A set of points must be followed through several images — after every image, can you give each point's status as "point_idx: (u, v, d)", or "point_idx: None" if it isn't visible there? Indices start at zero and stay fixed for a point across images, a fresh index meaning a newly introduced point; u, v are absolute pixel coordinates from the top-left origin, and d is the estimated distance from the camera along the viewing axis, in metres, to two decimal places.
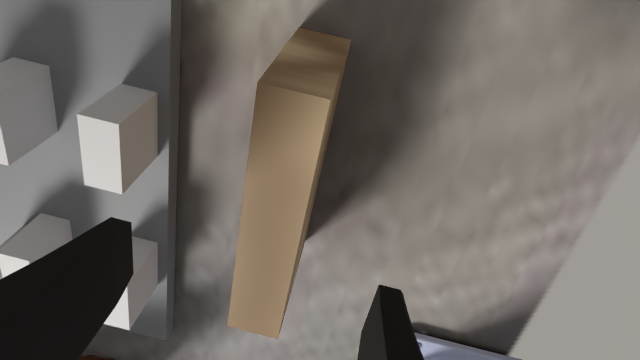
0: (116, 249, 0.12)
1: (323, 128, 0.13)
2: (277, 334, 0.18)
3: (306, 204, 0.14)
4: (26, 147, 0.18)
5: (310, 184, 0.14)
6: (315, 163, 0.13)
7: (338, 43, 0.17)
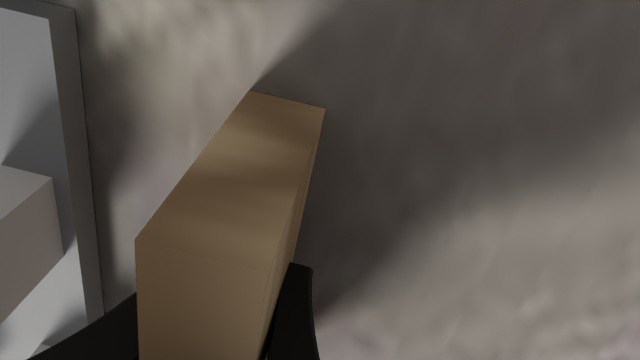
0: None
1: (259, 311, 0.07)
2: None
3: None
4: None
5: None
6: (250, 357, 0.08)
7: (303, 120, 0.11)
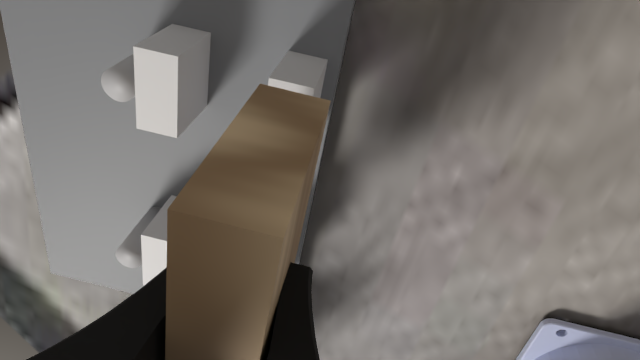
0: None
1: (275, 274, 0.08)
2: None
3: None
4: (188, 119, 0.17)
5: (260, 342, 0.09)
6: (266, 317, 0.09)
7: (310, 111, 0.12)
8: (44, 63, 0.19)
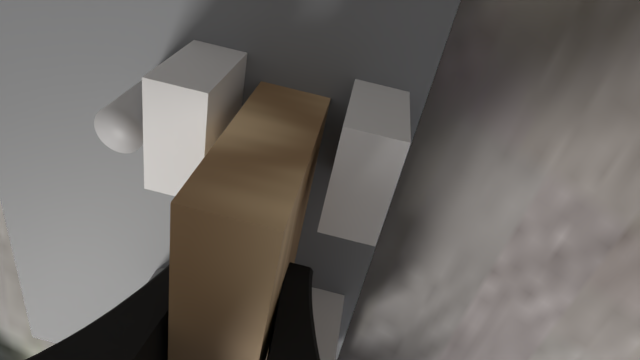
0: None
1: (275, 266, 0.08)
2: None
3: (258, 357, 0.10)
4: None
5: (261, 334, 0.09)
6: (267, 309, 0.09)
7: (310, 108, 0.12)
8: (19, 89, 0.14)
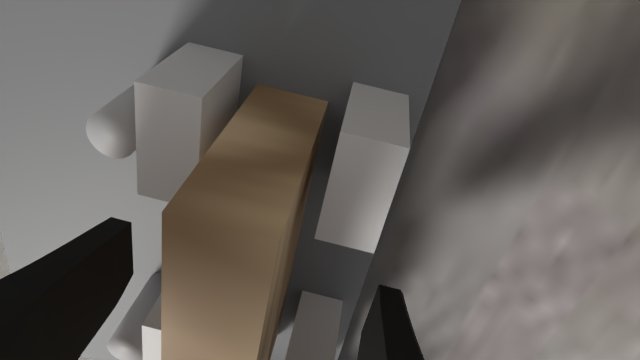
0: (116, 249, 0.12)
1: (271, 277, 0.08)
2: None
3: None
4: None
5: (257, 346, 0.09)
6: (262, 321, 0.09)
7: (307, 112, 0.12)
8: (11, 91, 0.14)
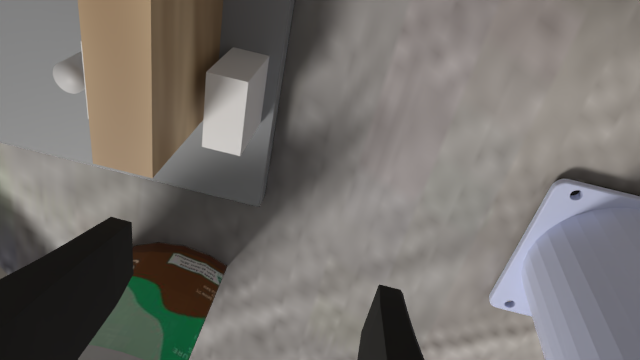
0: (116, 249, 0.12)
1: None
2: (151, 171, 0.15)
3: None
4: None
5: None
6: None
7: None
8: None
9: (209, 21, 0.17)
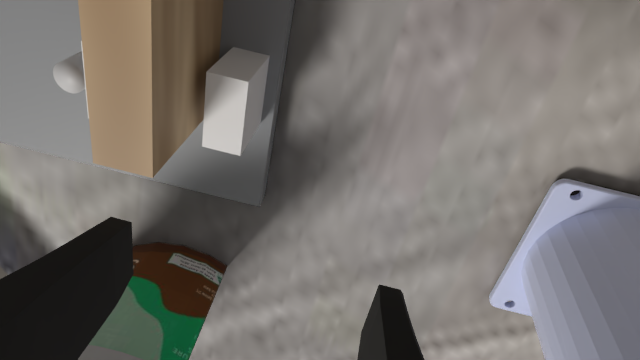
0: (116, 250, 0.12)
1: None
2: (151, 171, 0.15)
3: None
4: None
5: None
6: None
7: None
8: None
9: (209, 21, 0.17)
